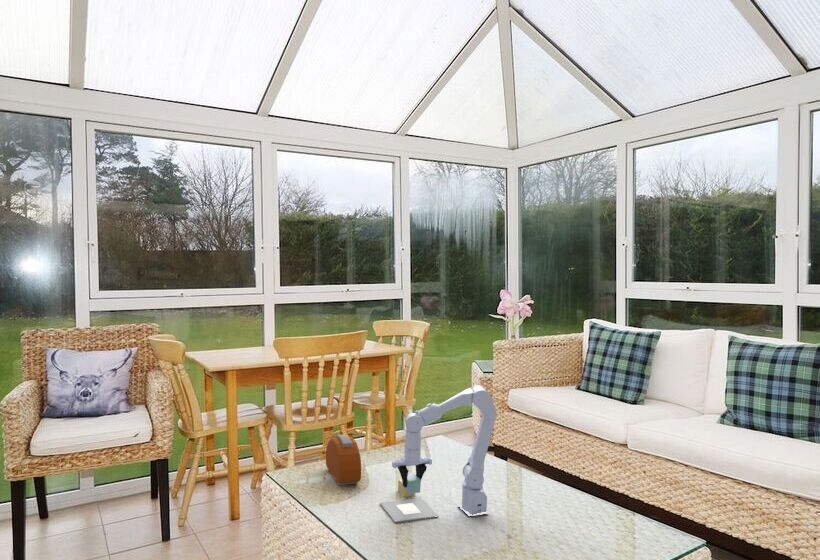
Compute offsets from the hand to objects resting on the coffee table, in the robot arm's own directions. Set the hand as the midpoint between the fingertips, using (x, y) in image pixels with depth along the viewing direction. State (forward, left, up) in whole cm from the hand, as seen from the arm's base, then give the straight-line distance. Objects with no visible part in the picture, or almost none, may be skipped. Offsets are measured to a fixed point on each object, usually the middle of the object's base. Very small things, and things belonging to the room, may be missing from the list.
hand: (411, 485), depth 203 cm
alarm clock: (+37, +15, -9) cm, 41 cm away
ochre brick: (+14, -4, -9) cm, 17 cm away
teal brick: (0, 0, -1) cm, 1 cm away
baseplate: (-1, +1, -8) cm, 9 cm away
